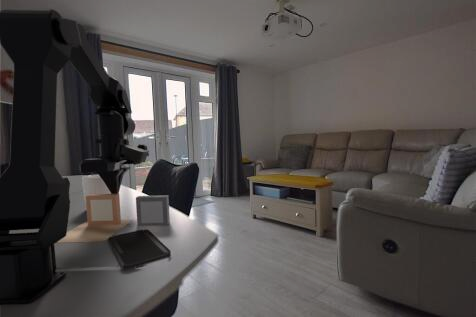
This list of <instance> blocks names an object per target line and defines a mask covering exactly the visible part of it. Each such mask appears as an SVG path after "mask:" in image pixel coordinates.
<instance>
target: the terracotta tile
mask: <svg viewBox="0 0 476 317" xmlns="http://www.w3.org/2000/svg"><path fill="white" fill-rule="evenodd" d="M86 207H87V210H86V220H87V221H88V225H118V224H119V223H121V220H122V219H121V218H122V216H121V201H120V193H119V194H89V195H87V196H86V203H85V208H86ZM87 221H86V222H87Z"/></svg>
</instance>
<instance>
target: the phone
mask: <svg viewBox="0 0 476 317" xmlns="http://www.w3.org/2000/svg"><path fill="white" fill-rule="evenodd" d="M107 241H108V243H109V246H110V248H111V250H112V252H113V254H114V255H115V258H116V259H117V262H118V263H119V267H120V270H121V271H124V272H129V271H133V270H137V269H139V268H144V267H146V266H148V265H146V264H147V263H149V262H150V263H151V262H154V261H158V260H161V259H164V258H168V257H170V256H171V255H172V254H171V250H170V249H169V247H167V246H166V245H165V244H164V242H162V241H161V240H160V239H158V237H156V235H155V234H154V233H152V232H151V231H150V230H149V229H145V228H144V229H139V230H135V231H129V232H125V233H120V234H115V235H112V236H111V237H109V238H108V239H107ZM170 258H171V257H170ZM144 264H145V265H144Z"/></svg>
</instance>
